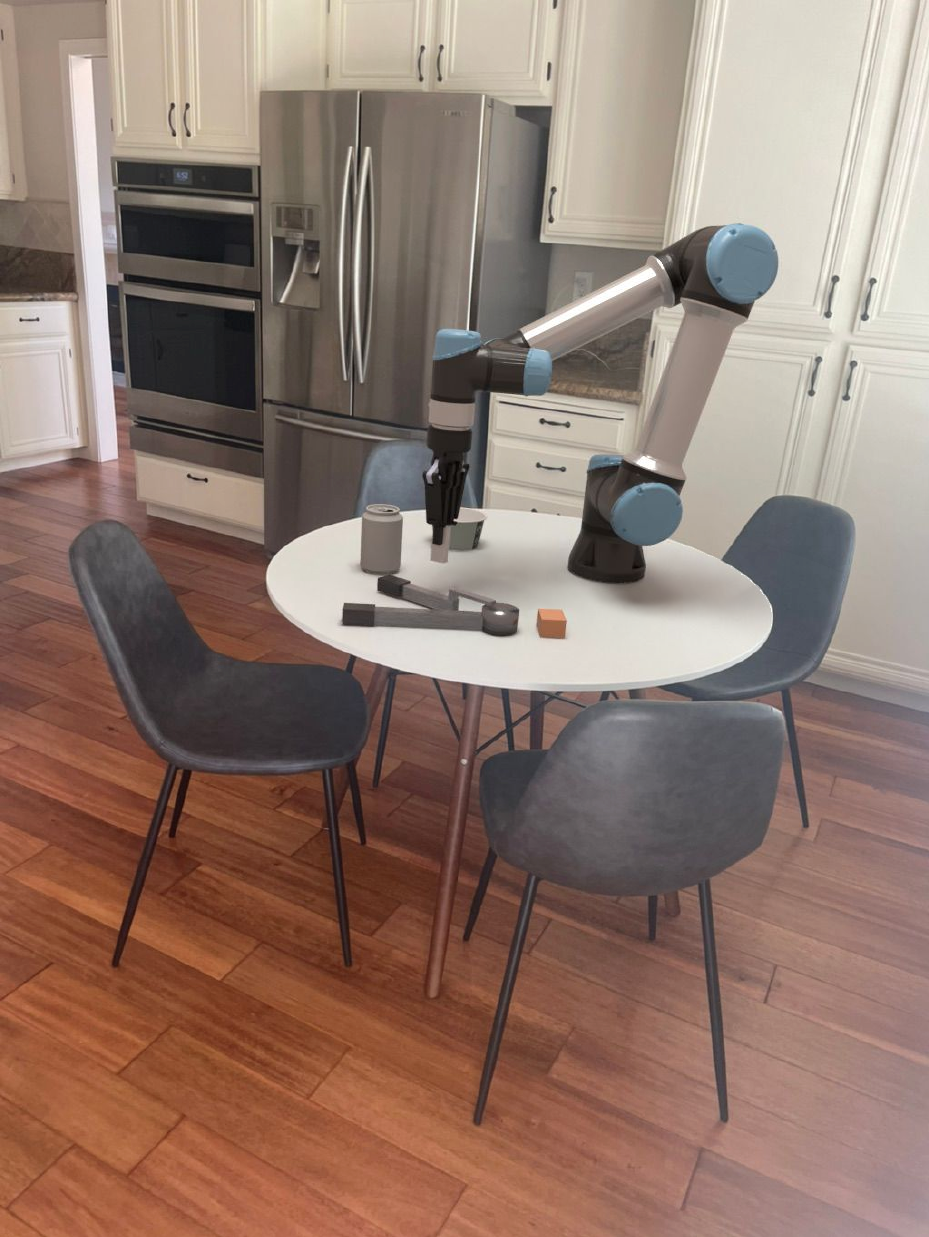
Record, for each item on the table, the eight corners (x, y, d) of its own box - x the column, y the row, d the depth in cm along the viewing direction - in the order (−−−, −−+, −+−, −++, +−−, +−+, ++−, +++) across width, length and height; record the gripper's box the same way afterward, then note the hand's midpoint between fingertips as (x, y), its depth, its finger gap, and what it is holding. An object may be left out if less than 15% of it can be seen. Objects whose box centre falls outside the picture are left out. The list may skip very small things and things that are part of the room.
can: (394, 578, 172) (397, 514, 168) (355, 572, 174) (357, 509, 169) (404, 566, 179) (407, 505, 175) (367, 561, 180) (369, 500, 176)
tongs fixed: (515, 623, 155) (517, 603, 153) (519, 637, 149) (521, 616, 148) (344, 615, 153) (344, 594, 151) (341, 628, 147) (342, 607, 146)
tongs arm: (496, 622, 154) (498, 599, 152) (485, 627, 151) (487, 603, 150) (388, 587, 166) (389, 565, 165) (377, 590, 164) (378, 568, 163)
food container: (415, 543, 194) (417, 512, 192) (449, 533, 204) (451, 503, 202) (463, 556, 188) (465, 524, 186) (495, 545, 198) (498, 514, 195)
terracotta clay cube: (560, 626, 155) (562, 609, 154) (564, 638, 150) (566, 620, 149) (536, 625, 154) (538, 608, 153) (540, 637, 150) (541, 619, 149)
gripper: (448, 419, 164) (438, 549, 172) (411, 426, 153) (401, 565, 161) (487, 425, 161) (474, 557, 169) (452, 433, 150) (440, 574, 158)
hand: (439, 561), depth 165 cm, fingers closed
